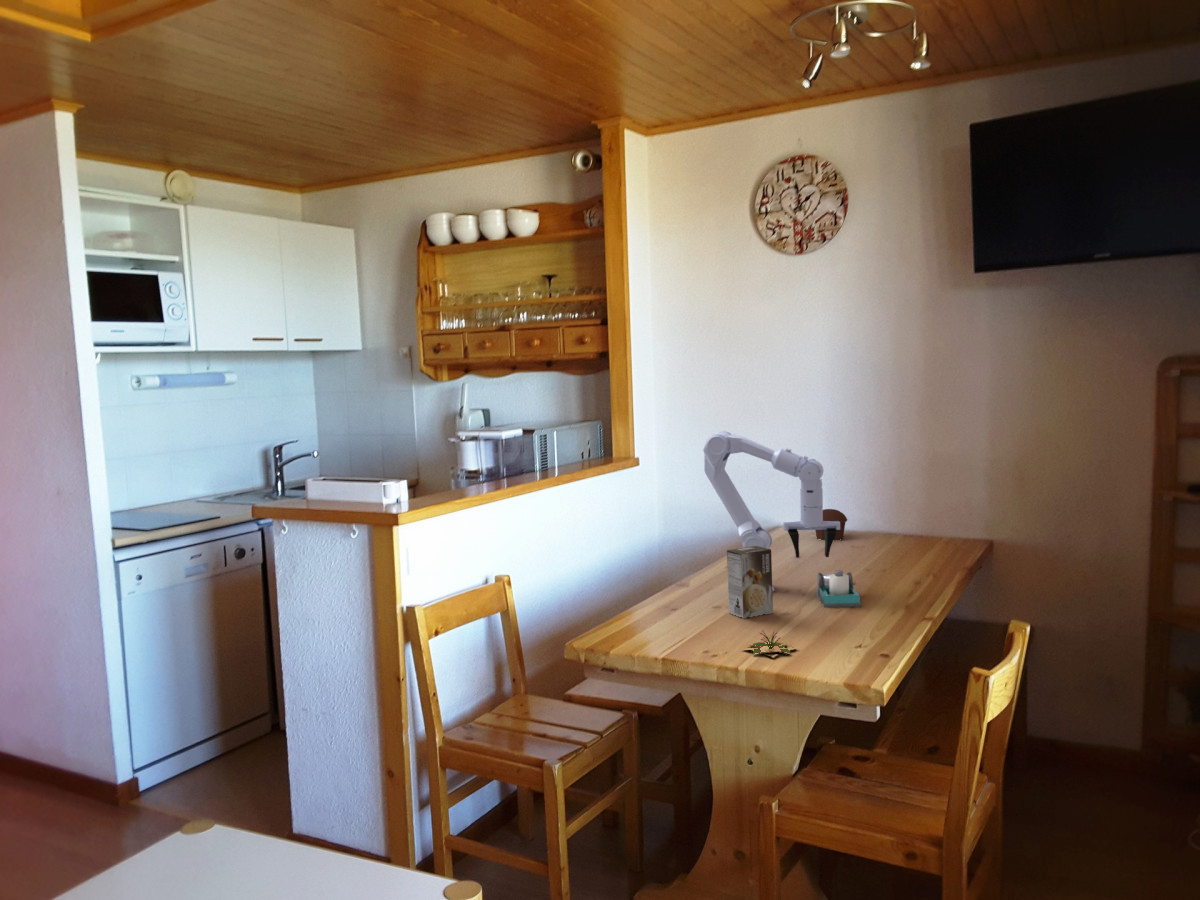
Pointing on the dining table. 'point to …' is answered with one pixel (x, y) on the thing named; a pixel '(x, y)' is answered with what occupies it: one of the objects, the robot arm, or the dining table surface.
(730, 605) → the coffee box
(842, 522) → the muffin
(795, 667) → the dining table surface
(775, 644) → the lily flower
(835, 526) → the robot arm
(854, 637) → the dining table surface
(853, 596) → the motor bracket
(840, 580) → the white capped bottle
